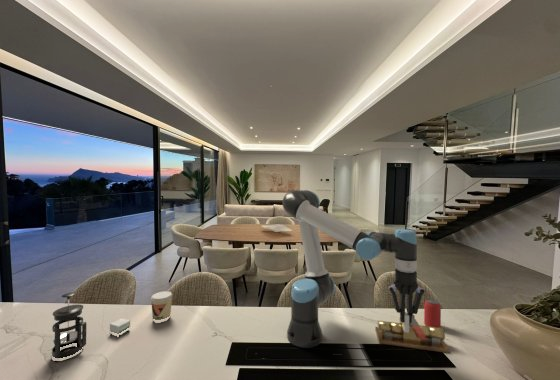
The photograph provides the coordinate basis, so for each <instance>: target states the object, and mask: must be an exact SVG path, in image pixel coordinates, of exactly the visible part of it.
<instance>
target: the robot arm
mask: <svg viewBox="0 0 560 380" xmlns="http://www.w3.org/2000/svg"><path fill="white" fill-rule="evenodd" d="M320 204H321V201H320V198H319V196H318V195H317V194H316V193H315V192H314V191H311V190H307V189H305V190H297V189H296V190H295V189H294V190H290V191H288V192H287V193H285V195H284V196H283V198H282V209H283V210H284V211H285V212H286V214H288V215H289V216H291V217H292V218H294V219H295V220H296V221H297V222H298V225H299V231H300V232H299V233H300V236H301V243H302V249H303V254H304V261H305V265H306V271H305V273H304V278H302V279H298V280H296V281H294V282H293V284H291V285H292V286H291V292H290V295H291V296H290V299H291V309H290V310H291V312H290V313H291V314H290V321H289V325H288V328H287V330H286V338H287V341H288V342H289V343H291V344H292V345H293V346H295V347H297V348H303V349H305V348H306V349H310V348H314V347H317V346H318V345H320V344H321V343H322V342H323V331H322V328H321V326H320V322H319V308H320V307H321V306H322V305H323V304H325V302H326V301H328V300H330V299H331V298H332V297H333V295H334V293H335V290H336V285H335V281H334V279H333V277H331V275H330V272H329V270H327V269H326V268H325V263H324V258H323V251H322V246H321V241H320V235H319V231H321V232H323V233H325V234H327V235H328V236H330V237H332V239H333V238H334V239H335V240H337V241H338V242H340V243H342V244H343V245H346V246H348V247H349V248H350V249H352V250H354V251H355V252H356V253H357V255H358V256H359V258H361V259H362V260H367V261H370V260H373V259H375V258H377V257H378V256H379V255H380V254H381V253H392V254H394V255H395V256H394V258H395V259H394V264H395V265H394V268H395V270H394V277H395V279H394V281H393V284H391V285H388V286H387V288H388V290H389V291H390V295H391V298H392V303H393V306H394V309H395V311H396V313H398V314H399V321H400V320H401V322H402V323H403V330H404V331H405V332H407V333H409V323H411V322H412V316H413V315H417V314H418V311H419V308H420V303H421V301H422V296H423V295H424V293H425V291H426V290H424V289H423V288H422V287H420V286H419V284H418V273H417V269H418V263H417V262H418V255H417V254H418V241H417V240H418V239H417V232H416V231H414V230H411V229H402V228H398V229H396V230H395V232H394V233H387V232H377V231H366V232H363V231H362V230H361V229H358V228H356V227H354V226H352V225H350V224H348V223H347V222H344V221H343V220H341V219H339V218H337V217H335V216H334V215H331V214H329V213H327V212H326V211H324V210H322V209H320V208H319V207H320V206H321V205H320ZM396 289H397V291H398V294H399V302H398V298H397V294H396ZM414 292H415V295H414ZM413 295H414V297H413Z"/></svg>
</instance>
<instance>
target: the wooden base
mask: <svg viewBox="0 0 560 380" xmlns="http://www.w3.org/2000/svg"><path fill="white" fill-rule="evenodd" d="M415 321H416V323H417V324H418V326H420V327H421V329H422V330H423V332H424V334H425V339H418V338H417V336H416V335H415V333H414V331H413V328H412V326H411V324H410V323H409V333H407V332H405V331H404V330H403V323H402V322H401V320H400V319H399V322H393V321H385V320H377V326H375V329H374V331H375V333H376V337H377V340H378V341H377V342H378V344H379V345H381V344H382V345H387V346H388V345H389V346H395V347H400V348H401V347H402V348H403V347H404V348H408V349H410V348H411V349H416V350H424V351H431V352H432V351H433V352H437V353H438V352H439V353H444V354H445V353H448V354H450V348H449V347H448V345H447V344H446V342H445V339H446V336H445V335H446V334H445V331H444V329H443V327H441V328H437V327H429V326H426V325H421V324H419V322H418V321H417V319H416V318H415Z"/></svg>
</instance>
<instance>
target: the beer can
mask: <svg viewBox="0 0 560 380" xmlns="http://www.w3.org/2000/svg"><path fill="white" fill-rule="evenodd" d="M423 308H424V312H423V314H424V317H423V319H424V321H423V324H424V326H429V327H437V328H442V327H441V325H442V317H441V316H442V307H441V303H440V301H439V300H437V299H435V298H430V297H429V298H426V299H425V301H424V307H423Z"/></svg>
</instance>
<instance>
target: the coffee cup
mask: <svg viewBox="0 0 560 380" xmlns="http://www.w3.org/2000/svg"><path fill="white" fill-rule="evenodd" d="M150 299H151V300H150V301H151V314H152V320H153V319H155V320H161V319H165V318H167V317H169V316H170V317H171V315H170V314H172V302H173V301H172V300H173V293H172V292H171V291H165V290H163V291H159V292H156V293H154V294H152V295H151V297H150Z"/></svg>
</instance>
